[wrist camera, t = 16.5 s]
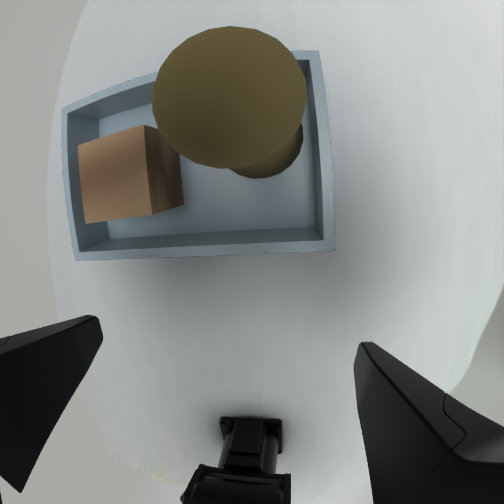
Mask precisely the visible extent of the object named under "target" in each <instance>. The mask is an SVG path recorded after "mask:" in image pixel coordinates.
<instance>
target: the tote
mask: <svg viewBox="0 0 504 504" xmlns="http://www.w3.org/2000/svg"><path fill="white" fill-rule="evenodd" d="M290 52H291V53H292V54H293V55H294V57H295V58H296V60H297V62H298V64H299V66H300V68H301V70H302V72H303V74H304V76H305V79H306V91H307V103H306V107H305V110H304V114H303V117H302V121H301V123H302V126H303V139H304V140H303V144H302V147H301V151H300V154H299V155H298V157H297V158H296V159H295V161H294V162H293V164H292V165H291V166H290V167H288V168H287V169H286V170H284V171H283V172H282V173H280V174H277V175H274V176H272V177H269V178H259V179H251V178H248V177H244V176H240V175H238V174H236V173H235V172H233V171H232V170H230V169H228V168H226V169H217V168H213V167H209V166H205V165H201V164H196V163H194V162H192V161H191V160H189V159H187V158H186V157H184V156H182V155H181V154H179V157H180V168H181V178H182V188H183V197H184V205H181V206H178V207H175V208H172V209H169V210H165V211H162V212H159V213H156V214H153V215H147V216H139V217H131V218H124V219H116V220H109V221H102V222H96V223H89V224H86V223H85V216H84V209H83V202H82V193H81V184H80V173H79V160H78V145H81V144H84V143H86V142H89V141H92V140H95V139H98V138H101V137H104V136H107V135H110V134H113V133H116V132H120V131H123V130H126V129H130V128H133V127H137V126H141V125H147V126H150V127H153V128H157V129H158V127H157V124H156V121H155V118H154V115H153V112H152V92H153V87H154V84H155V81H156V78H157V75H158V72H155V73H152V74H148V75H145V76H142V77H139V78H136V79H133V80H130V81H127V82H124V83H121V84H118V85H115V86H113V87H110V88H107V89H105V90H102V91H100V92H97V93H95V94H93V95H90V96H88V97H86V98H83V99H81V100H79V101H77V102H74V103H72V104H70V105H68V106H66V107H64V108H62V164H63V179H64V190H65V199H66V208H67V215H68V222H69V228H70V234H71V240H72V245H73V250H74V255H75V260H76V261H83V260H111V259H139V258H166V257H193V256H219V255H245V254H271V253H296V252H321V251H335V223H334V190H333V171H332V156H331V143H330V132H329V122H328V112H327V103H326V95H325V88H324V80H323V73H322V67H321V61H320V55H319V51H290Z"/></svg>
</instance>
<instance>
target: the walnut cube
mask: <svg viewBox="0 0 504 504" xmlns="http://www.w3.org/2000/svg"><path fill="white" fill-rule="evenodd" d="M78 160H79V173H80V184H81V193H82V202H83V209H84V216H85V223H86V224H89V223H96V222H102V221H109V220H116V219H124V218H131V217H139V216H147V215H153V214H156V213H159V212H162V211H165V210H169V209H172V208H175V207H178V206H181V205H184V197H183V188H182V178H181V168H180V157H179V153H178V152H176V151H175V150H174V149H173V148H172V147H171V145H170V144H169V143H168V142H167V140H166V139H165V138H164V137H163V135H162V134H161V133H160V132H159V130H158V129H157V128H153V127H150V126H147V125H141V126H137V127H133V128H130V129H126V130H123V131H120V132H116V133H113V134H110V135H107V136H104V137H101V138H98V139H95V140H92V141H89V142H86V143H84V144H81V145H78Z"/></svg>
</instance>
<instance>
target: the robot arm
mask: <svg viewBox="0 0 504 504" xmlns="http://www.w3.org/2000/svg"><path fill="white" fill-rule="evenodd" d="M102 342H103V333H102V330H101V326H100V322H99V319H98V318H97V317H96V316H92V315H85V316H82V317H78V318H74V319H71V320H67V321H64V322H60V323H57V324H53V325H49V326H45V327H42V328H38V329H34V330H30V331H27V332H23V333H19V334H15V335H13V336H8V337H4V338H0V476H1V477H2V478H3V479H4V480H6V481H7V482H8V483H9V484H10V485H11V486H12V487H13V488H14V489H16V490H17V491H18V492H19V493H21V492H22V491H23V489H24V486H25V484H26V482H27V480H28V478H29V476H30V474H31V471H32V469H33V467H34V465H35V463H36V461H37V459H38V457H39V455H40V452H41V451H42V449H43V447H44V445H45V443H46V441H47V439H48V438H49V436H50V434H51V432H52V430H53V428H54V427H55V425H56V423H57V421H58V419H59V418H60V416H61V414H62V412H63V411H64V409H65V407H66V406H67V404H68V402H69V401H70V399H71V397H72V396H73V394H74V392H75V391H76V389H77V387H78V386H79V384H80V382H81V381H82V379H83V378H84V376H85V374H86V373H87V371H88V369H89V367H90V365H91V363H92V361H93V359H94V357H95V355H96V353H97V351H98V349H99V348H100V346H101V344H102ZM354 377H355V388H356V399H357V409H358V415H359V419H360V424H361V429H362V435H363V440H364V445H365V451H366V456H367V462H368V468H369V475H370V481H371V488H372V495H373V503H374V504H504V427H503V426H501V425H499V424H498V423H495V422H494V421H492V420H490V419H488V418H486V417H485V416H483V415H481V414H479V413H477V412H476V411H474V410H472V409H470V408H468V407H467V406H465V405H464V404H462V403H461V402H459V401H458V400H456V399H454V398H453V397H452V396H450V395H449V394H447V393H445V392H444V391H443V390H441V389H440V388H438V387H437V386H436V385H434V384H433V383H431V382H430V381H428V380H427V379H425V378H424V377H423V376H421V375H420V374H418V373H417V372H415V371H414V370H412V369H411V368H409V367H408V366H407V365H405V364H404V363H402V362H401V361H399V360H398V359H397V358H395V357H394V356H392V355H391V354H389V353H388V352H386V351H385V350H384V349H382V348H381V347H379V346H378V345H376V344H375V343H373V342H361V343H360V344H359V346H358V350H357V354H356V358H355V362H354ZM219 424H220V427H221V431H222V435H223V439H224V445H223V449H222V453H221V457H220V460H219V464H218V468H216V467H210V466H206V465H204V464H200V465H199V467H198V469H196V470H195V472H194V474H193V476H192V478H191V480H190V482H189V484H188V486H187V488H186V490H185V492H184V493H183V494H182V495H181V497H180V500H181V502H182V503H183V504H291V474H286V473H285V474H276V463H277V454H281V453H282V421H281V420H260V419H238V418H225V417H222V418H220V421H219ZM0 504H2V499H1V494H0Z"/></svg>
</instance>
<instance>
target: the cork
mask: <svg viewBox="0 0 504 504" xmlns="http://www.w3.org/2000/svg"><path fill="white" fill-rule="evenodd" d="M306 103H307V91H306V79H305V76H304V74H303V72H302V70H301V68H300V66H299V64H298V62H297V60H296V58H295V57H294V55H293V54H292V53H291V52H290V51H289V50H288V49H287V48H286V47H285V46H284V45H283V44H282V43H281V42H280V41H279V40H277V39H276V38H274V37H272V36H270V35H268V34H265V33H263V32H261V31H259V30H256V29H250V28H242V27H234V26H228V27H221V28H214V29H208V30H206V31H204V32H201V33H199V34H197V35H194V36H192V37H190V38H188V39H187V40H186V41H184V42H183V43H182V44H180V45H179V46H178V47H177V48H176V49H174V50H173V51H172V52H171V53H170V55H169V56H168V58H167V59H166V60H165V62H164V63H163V65H162V66H161V67H160V70H159V72H158V75H157V78H156V81H155V84H154V87H153V92H152V112H153V115H154V118H155V121H156V124H157V127H158V130H159V132H160V133H161V134H162V135H163V137H164V138H165V139H166V140H167V142H168V143H169V144H170V145H171V147H172V148H173V149H174V150H175V151H176V152H178V153H179V154H181V155H182V156H184V157H186V158H187V159H189V160H191V161H192V162H194V163H196V164H201V165H205V166H209V167H213V168H217V169H226V168H228V169H230V170H232V171H233V172H235V173H236V174H238V175H240V176H244V177H248V178H251V179H259V178H269V177H272V176H274V175H277V174H280V173H282V172H283V171H284V170H286V169H287V168H288V167H290V166H291V165H292V164H293V162H294V161H295V159H296V158H297V157H298V155H299V154H300V151H301V147H302V144H303V140H304V139H303V126H302V123H301V121H302V117H303V114H304V110H305V107H306Z"/></svg>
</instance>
